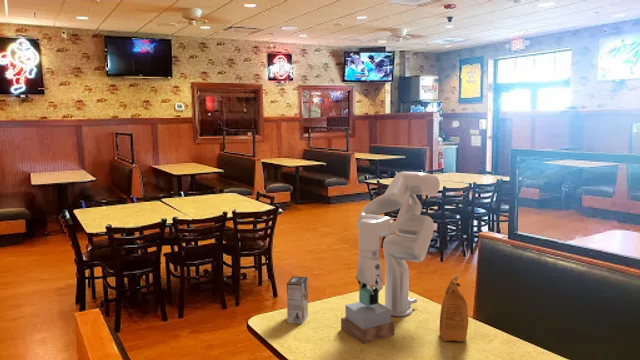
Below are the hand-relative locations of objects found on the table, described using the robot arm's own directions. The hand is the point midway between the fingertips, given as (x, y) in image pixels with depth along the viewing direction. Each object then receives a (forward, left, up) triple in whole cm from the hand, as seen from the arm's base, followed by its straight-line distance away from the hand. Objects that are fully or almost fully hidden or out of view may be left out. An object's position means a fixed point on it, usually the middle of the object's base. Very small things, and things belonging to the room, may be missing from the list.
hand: (368, 300), depth 179 cm
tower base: (0, 0, -13) cm, 13 cm away
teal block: (0, 0, -1) cm, 1 cm away
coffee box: (+16, -25, -12) cm, 32 cm away
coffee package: (-24, +19, -12) cm, 33 cm away
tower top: (0, 0, -7) cm, 8 cm away
